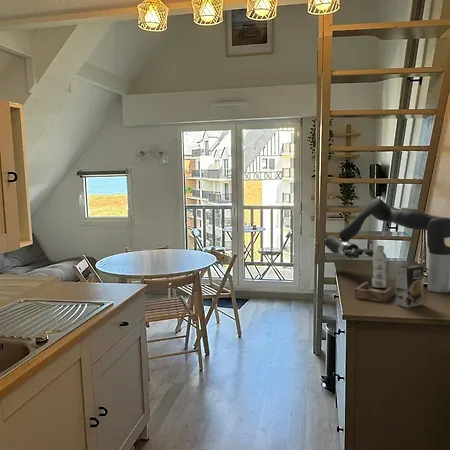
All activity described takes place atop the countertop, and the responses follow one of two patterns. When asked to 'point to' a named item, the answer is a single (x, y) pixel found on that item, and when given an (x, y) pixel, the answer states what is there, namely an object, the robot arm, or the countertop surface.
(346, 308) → the countertop surface
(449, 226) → the robot arm
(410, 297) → the coffee box
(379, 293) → the walnut bay
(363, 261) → the countertop surface
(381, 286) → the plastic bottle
